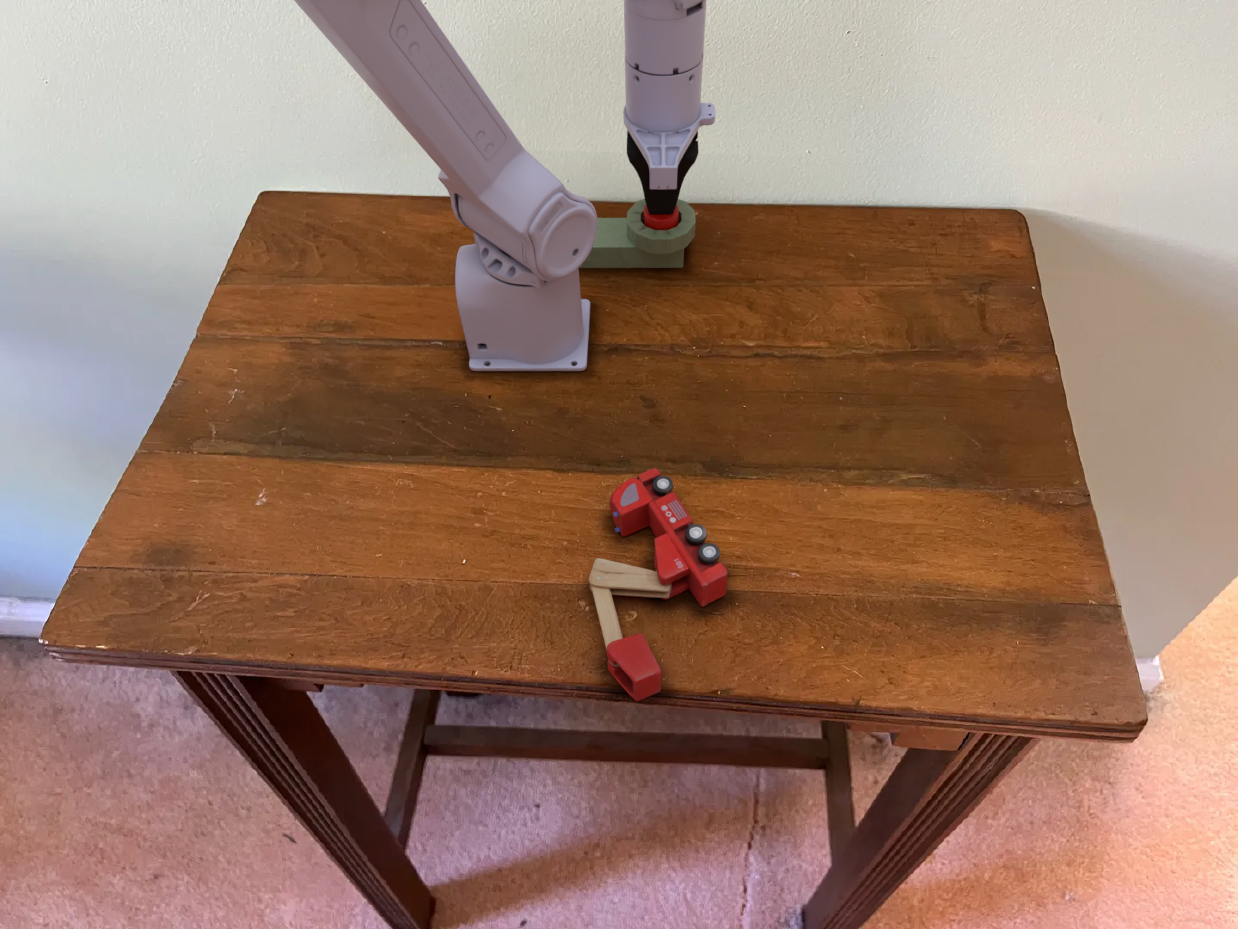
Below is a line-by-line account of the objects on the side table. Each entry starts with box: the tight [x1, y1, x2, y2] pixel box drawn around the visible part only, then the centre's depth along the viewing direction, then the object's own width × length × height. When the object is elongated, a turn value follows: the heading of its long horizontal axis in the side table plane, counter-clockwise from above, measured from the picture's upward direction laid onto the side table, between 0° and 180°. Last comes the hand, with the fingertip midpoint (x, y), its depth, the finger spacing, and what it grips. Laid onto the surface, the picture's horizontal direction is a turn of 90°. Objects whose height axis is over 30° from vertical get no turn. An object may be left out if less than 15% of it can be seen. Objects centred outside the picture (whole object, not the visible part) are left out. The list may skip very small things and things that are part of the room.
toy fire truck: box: [588, 467, 729, 702], centre depth 57 cm, size 3×14×10 cm
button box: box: [579, 198, 696, 269], centre depth 76 cm, size 11×6×4 cm, turn 89°
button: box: [644, 205, 679, 230], centre depth 75 cm, size 3×3×2 cm
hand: (661, 209), depth 74 cm, fingers closed, pressing on button
